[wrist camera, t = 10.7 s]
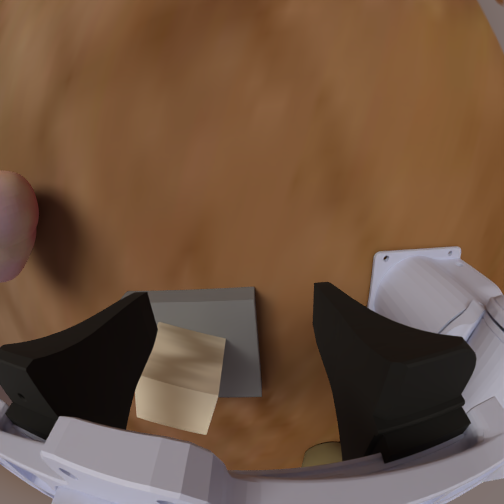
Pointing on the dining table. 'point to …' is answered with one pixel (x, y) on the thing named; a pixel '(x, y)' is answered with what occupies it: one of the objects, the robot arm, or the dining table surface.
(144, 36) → the dining table surface
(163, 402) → the birch cube
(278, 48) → the dining table surface
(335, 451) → the squeeze bottle
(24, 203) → the decorative fruit
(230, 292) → the charcoal base
